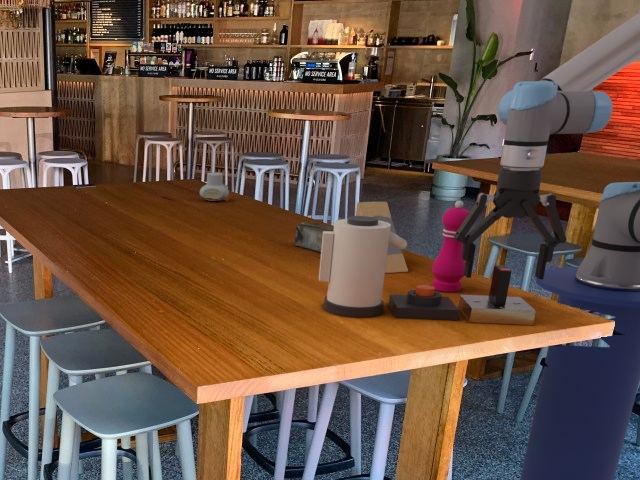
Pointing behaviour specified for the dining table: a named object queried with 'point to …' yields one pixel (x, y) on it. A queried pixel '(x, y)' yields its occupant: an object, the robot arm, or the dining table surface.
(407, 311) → the push button box
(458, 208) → the pepper mill
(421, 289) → the red push button
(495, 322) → the lever switch base
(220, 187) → the air freshener
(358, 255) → the kettle
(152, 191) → the dining table surface
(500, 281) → the black switch lever
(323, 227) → the beverage carton
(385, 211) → the sandwich container
